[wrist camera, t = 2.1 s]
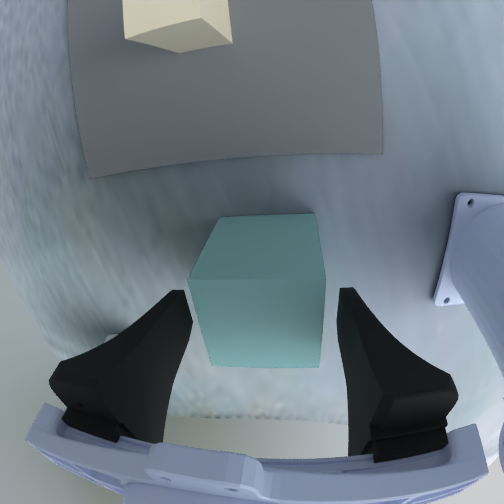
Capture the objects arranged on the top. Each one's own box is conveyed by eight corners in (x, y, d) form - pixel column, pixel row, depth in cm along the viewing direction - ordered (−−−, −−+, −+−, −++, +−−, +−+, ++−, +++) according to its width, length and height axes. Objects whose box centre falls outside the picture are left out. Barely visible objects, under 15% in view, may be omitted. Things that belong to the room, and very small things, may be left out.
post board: (348, -78, 7) (369, -134, 1) (378, 151, 14) (426, 187, 8) (76, -23, 9) (10, -39, 4) (96, 174, 16) (31, 215, 11)
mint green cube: (314, 213, 16) (325, 277, 11) (314, 291, 18) (319, 367, 13) (219, 217, 16) (187, 279, 11) (231, 292, 19) (211, 365, 14)
